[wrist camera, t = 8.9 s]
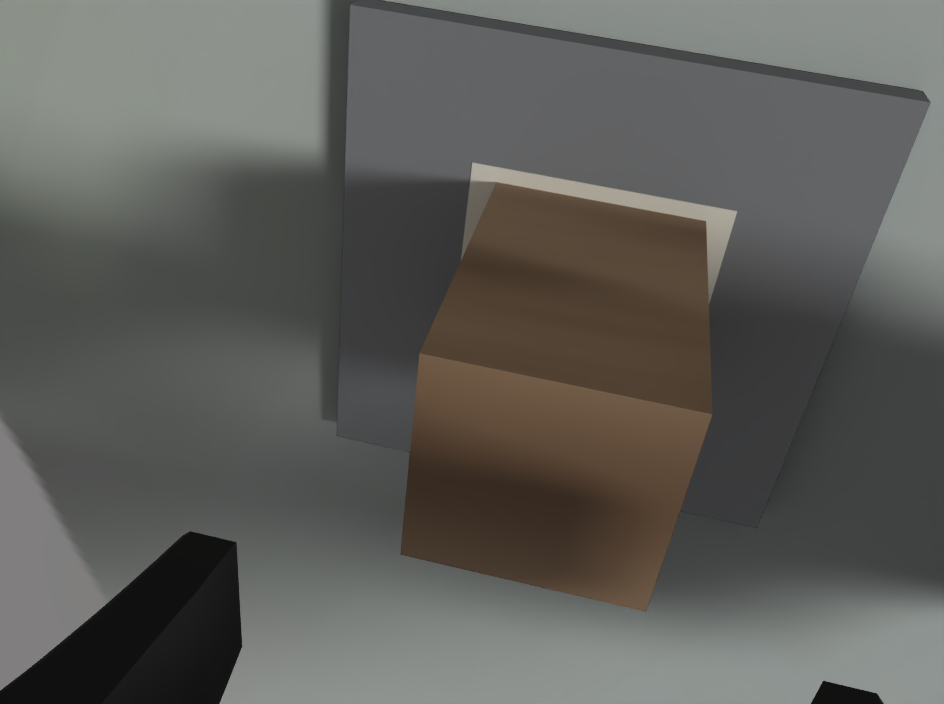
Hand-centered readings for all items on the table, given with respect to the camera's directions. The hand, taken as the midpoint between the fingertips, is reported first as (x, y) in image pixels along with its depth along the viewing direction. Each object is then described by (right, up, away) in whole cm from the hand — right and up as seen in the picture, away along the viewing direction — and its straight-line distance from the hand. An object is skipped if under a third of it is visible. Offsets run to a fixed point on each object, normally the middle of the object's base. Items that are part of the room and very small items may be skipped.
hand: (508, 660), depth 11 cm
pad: (+2, +5, +8) cm, 9 cm away
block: (+2, +5, +7) cm, 9 cm away
